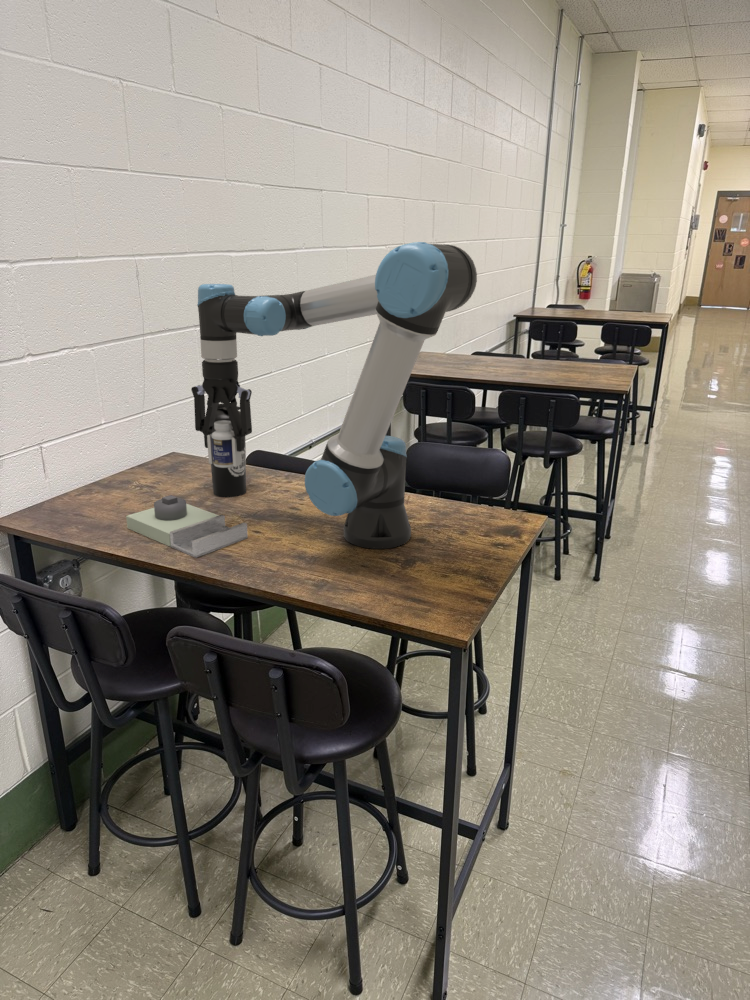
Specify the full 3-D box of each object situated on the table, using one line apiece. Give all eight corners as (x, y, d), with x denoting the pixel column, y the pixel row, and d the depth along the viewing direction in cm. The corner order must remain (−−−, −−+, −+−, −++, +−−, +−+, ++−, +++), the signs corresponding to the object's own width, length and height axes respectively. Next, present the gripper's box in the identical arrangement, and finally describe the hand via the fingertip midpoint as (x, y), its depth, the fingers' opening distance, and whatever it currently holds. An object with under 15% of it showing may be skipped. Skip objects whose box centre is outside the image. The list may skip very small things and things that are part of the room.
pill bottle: (211, 468, 152) (208, 425, 149) (215, 461, 157) (212, 419, 154) (236, 468, 153) (233, 425, 149) (239, 461, 158) (236, 419, 154)
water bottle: (228, 501, 174) (223, 412, 167) (201, 492, 180) (196, 406, 173) (257, 491, 182) (254, 405, 174) (231, 483, 188) (227, 400, 180)
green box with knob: (221, 528, 157) (220, 498, 155) (170, 546, 147) (167, 515, 144) (178, 512, 166) (176, 483, 164) (127, 528, 156) (124, 498, 154)
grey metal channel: (247, 538, 152) (247, 523, 151) (196, 557, 142) (195, 542, 140) (222, 528, 157) (221, 514, 156) (170, 547, 147) (169, 531, 145)
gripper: (266, 359, 148) (269, 463, 156) (191, 354, 153) (198, 455, 161) (250, 364, 141) (254, 472, 149) (172, 359, 146) (180, 463, 154)
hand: (225, 463), depth 155 cm, fingers closed on pill bottle, 5 cm apart
